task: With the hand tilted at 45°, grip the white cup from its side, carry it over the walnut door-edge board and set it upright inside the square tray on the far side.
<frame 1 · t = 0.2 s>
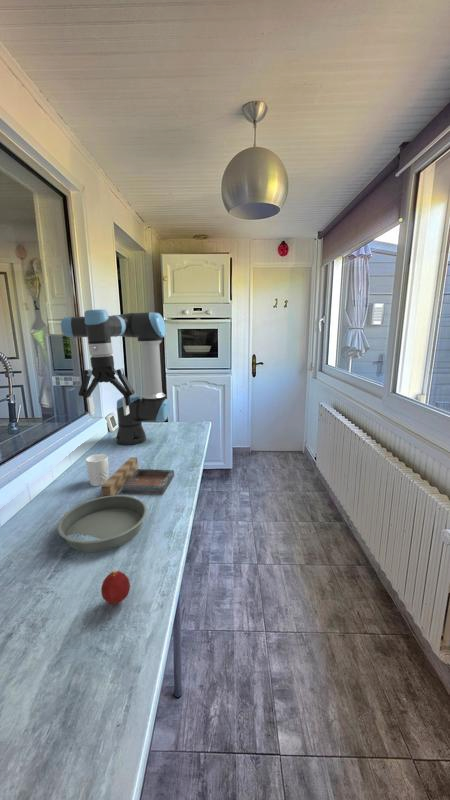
hand: (109, 414, 121), 27 cm above the counter, tool pointing down, fingers open, 13 cm apart
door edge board: (122, 482, 128), on the counter
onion: (117, 603, 72), on the counter
white cup: (99, 482, 129), on the counter
cake pan: (105, 529, 99), on the counter
square tray: (150, 483, 127), on the counter
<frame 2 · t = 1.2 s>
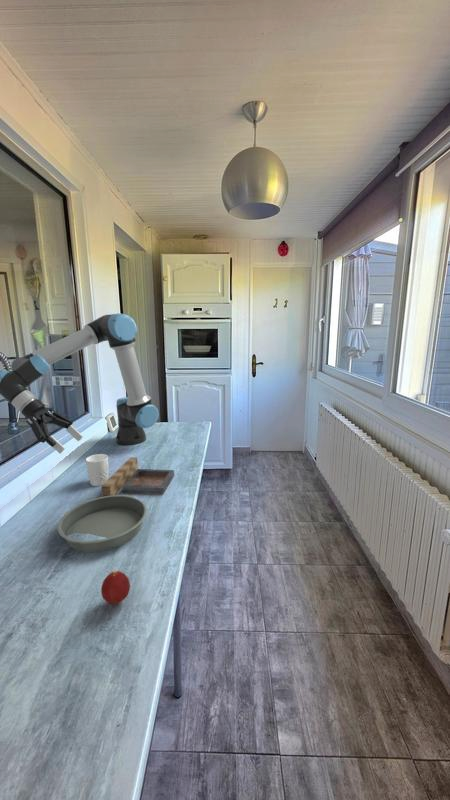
hand: (72, 444, 127), 15 cm above the counter, tool tilted 45°, fingers open, 13 cm apart
nothing on the counter moved.
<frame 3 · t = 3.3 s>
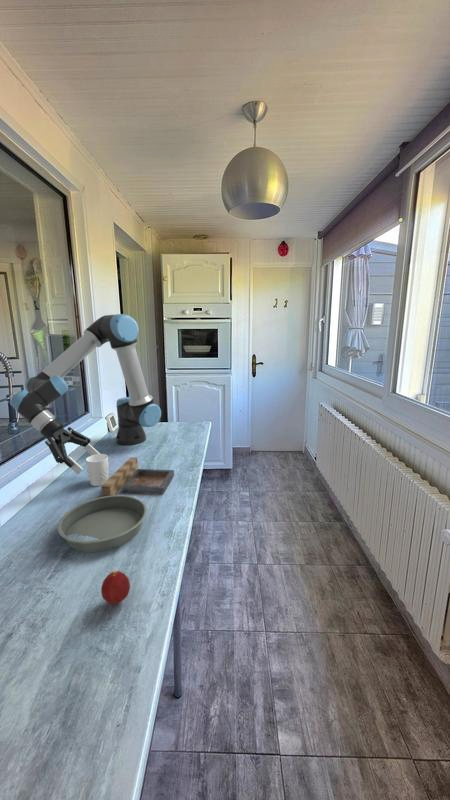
hand: (90, 464, 127), 8 cm above the counter, tool tilted 45°, fingers open, 13 cm apart
nothing on the counter moved.
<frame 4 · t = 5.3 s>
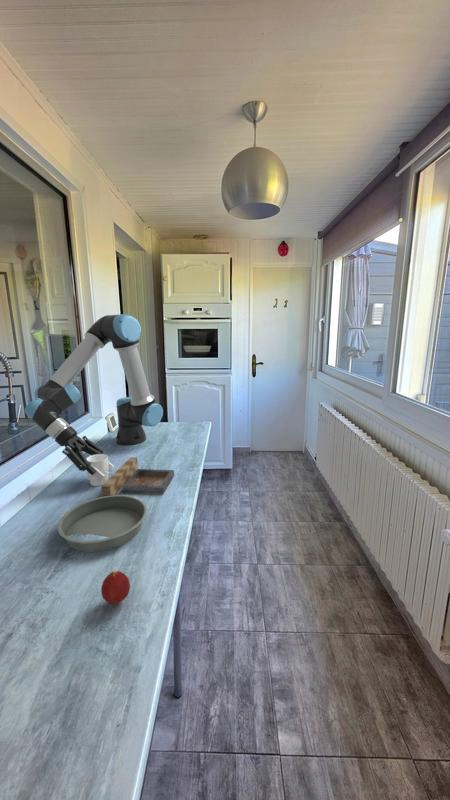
hand: (107, 473, 128), 4 cm above the counter, tool tilted 45°, fingers closed on white cup, 8 cm apart
white cup: (99, 482, 129), on the counter, touching gripper
everything else where it was.
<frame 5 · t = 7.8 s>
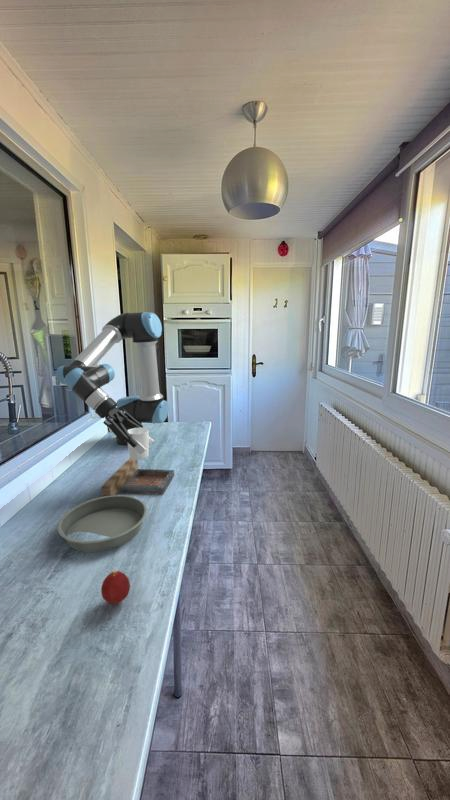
hand: (147, 447, 123), 15 cm above the counter, tool tilted 45°, fingers closed on white cup, 8 cm apart
white cup: (139, 457, 124), point 11 cm above the counter, touching gripper
everything else where it was.
when the fingers open (5 cm above the counter, at t = 10.3 s): white cup drops 1 cm, resting on square tray.
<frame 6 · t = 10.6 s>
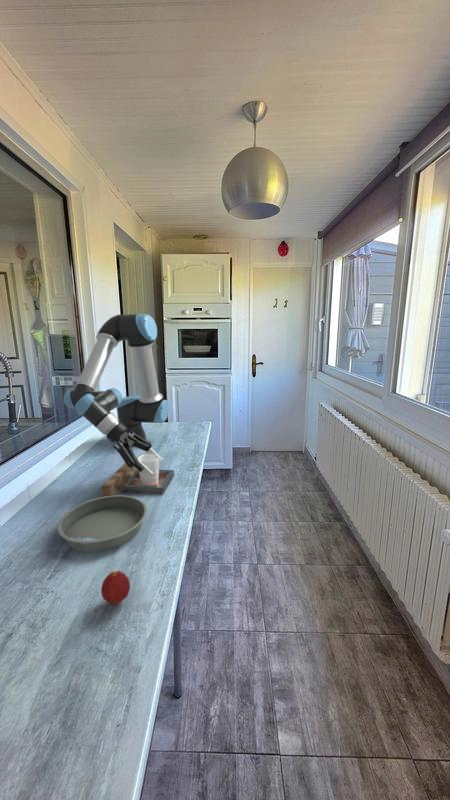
hand: (155, 468, 125), 6 cm above the counter, tool tilted 45°, fingers open, 12 cm apart
white cup: (149, 483, 127), resting on square tray
everything else where it was.
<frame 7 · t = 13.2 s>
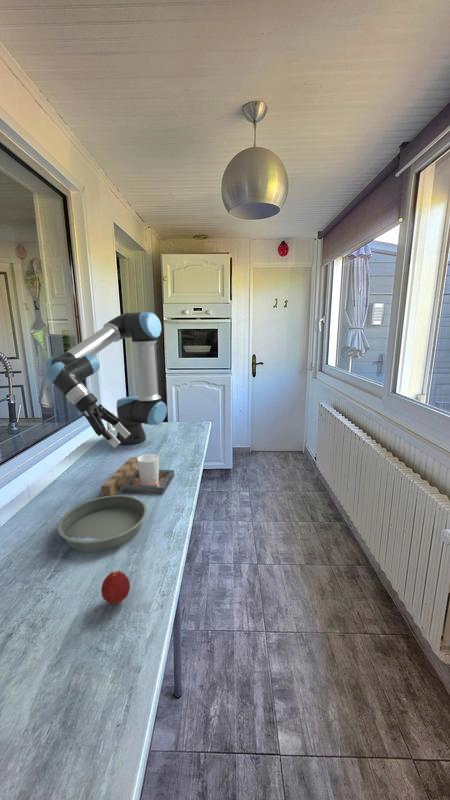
hand: (123, 440, 125), 17 cm above the counter, tool tilted 40°, fingers open, 13 cm apart
nothing on the counter moved.
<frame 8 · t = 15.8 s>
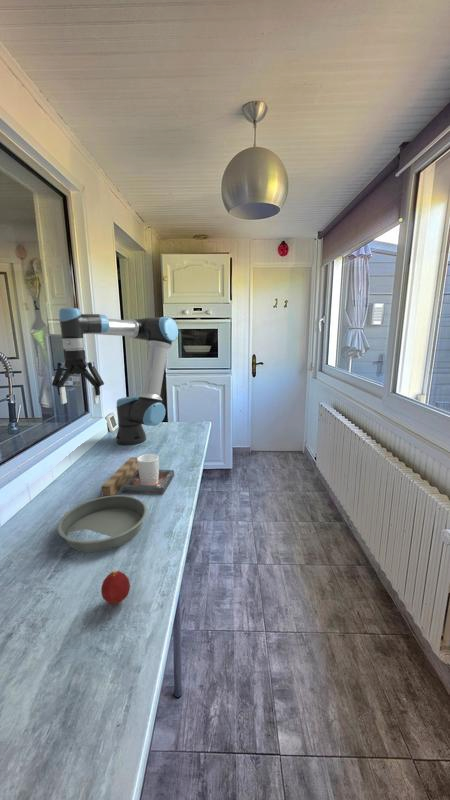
hand: (80, 403, 134), 29 cm above the counter, tool pointing down, fingers open, 13 cm apart
nothing on the counter moved.
at the end: white cup 0.2 cm off-centre on the square tray, point 0.2 cm above the square tray's base; white cup tilted 0°; the gripper is holding nothing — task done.
